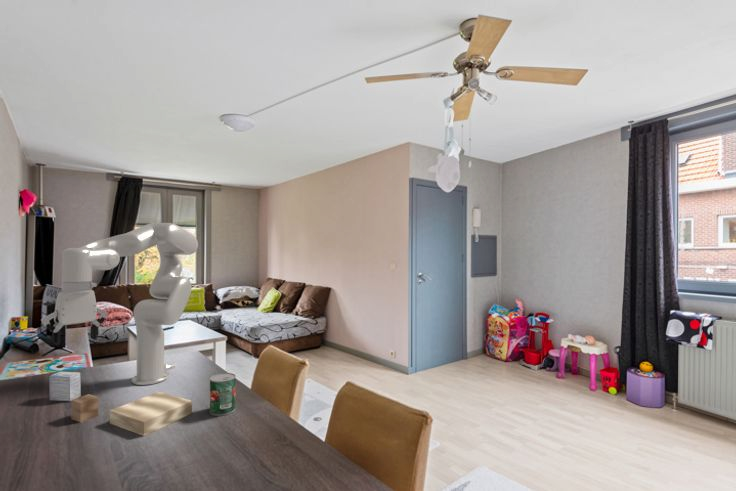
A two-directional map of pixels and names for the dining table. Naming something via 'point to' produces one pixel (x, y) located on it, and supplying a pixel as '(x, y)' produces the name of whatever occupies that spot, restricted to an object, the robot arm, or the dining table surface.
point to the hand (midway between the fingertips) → (75, 341)
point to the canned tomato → (222, 394)
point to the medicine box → (65, 386)
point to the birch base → (150, 413)
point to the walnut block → (84, 408)
